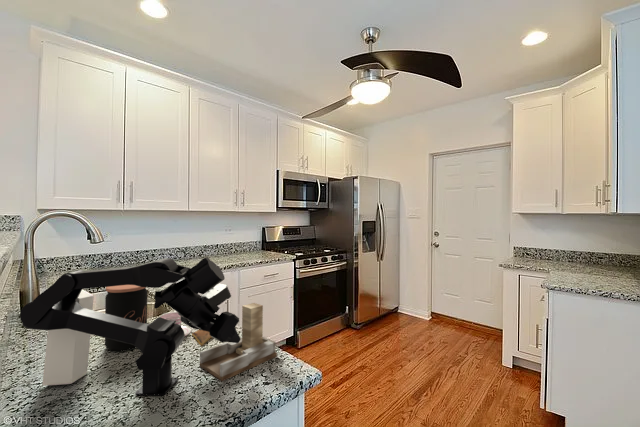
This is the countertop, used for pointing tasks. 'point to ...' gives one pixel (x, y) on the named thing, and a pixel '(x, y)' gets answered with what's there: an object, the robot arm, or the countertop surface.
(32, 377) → the countertop surface
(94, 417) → the countertop surface
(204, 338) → the folded crepe
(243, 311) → the beech peg
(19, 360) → the countertop surface
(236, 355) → the grey brown open tray
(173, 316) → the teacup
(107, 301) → the coffee jar
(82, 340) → the milk
